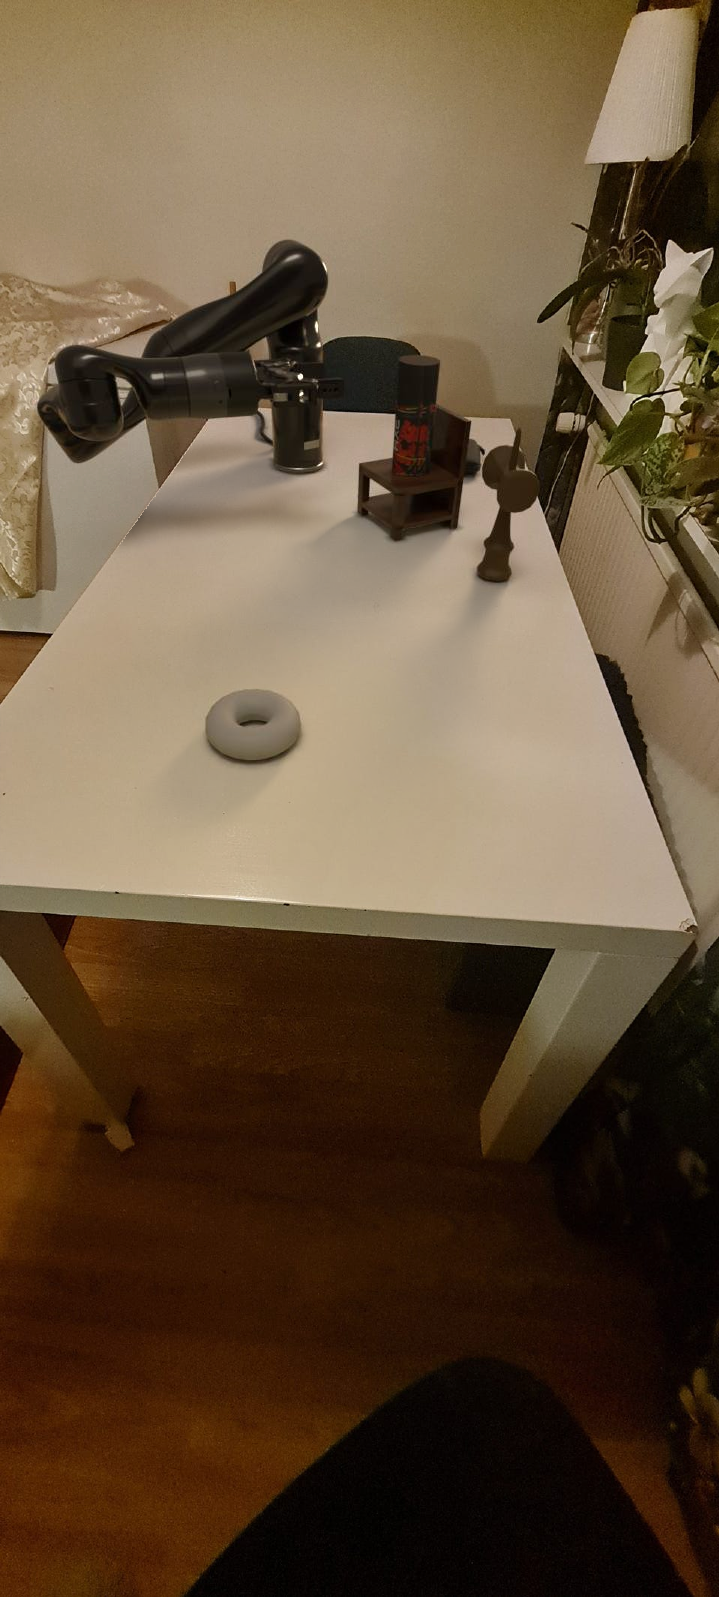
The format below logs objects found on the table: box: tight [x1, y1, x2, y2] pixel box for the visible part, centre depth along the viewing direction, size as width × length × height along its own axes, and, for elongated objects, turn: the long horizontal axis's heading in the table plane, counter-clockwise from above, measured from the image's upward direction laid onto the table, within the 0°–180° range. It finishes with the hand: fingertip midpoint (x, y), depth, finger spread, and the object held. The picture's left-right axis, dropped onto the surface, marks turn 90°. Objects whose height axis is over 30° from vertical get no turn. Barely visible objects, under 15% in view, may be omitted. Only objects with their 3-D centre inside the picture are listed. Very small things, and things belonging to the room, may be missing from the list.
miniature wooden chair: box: [357, 403, 472, 542], centre depth 111 cm, size 12×12×16 cm
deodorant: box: [392, 354, 441, 477], centre depth 106 cm, size 6×6×15 cm
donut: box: [204, 688, 302, 761], centre depth 74 cm, size 10×4×10 cm
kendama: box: [476, 427, 540, 582], centre depth 97 cm, size 6×10×20 cm, turn 4°
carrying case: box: [464, 438, 486, 477], centre depth 135 cm, size 11×3×15 cm
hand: (333, 378), depth 98 cm, fingers open, 8 cm apart
